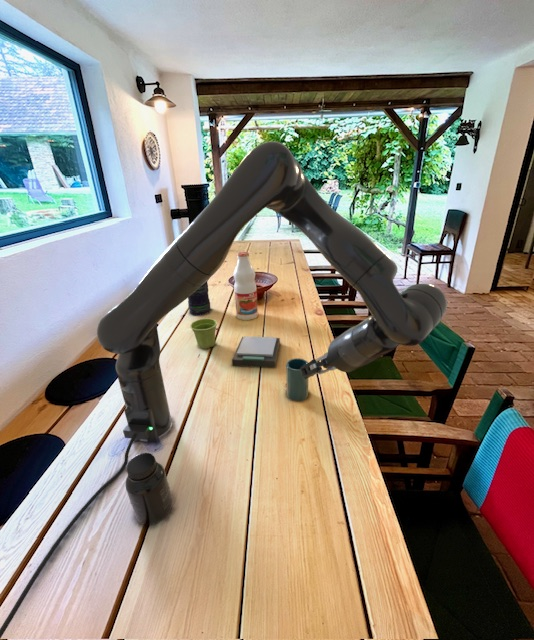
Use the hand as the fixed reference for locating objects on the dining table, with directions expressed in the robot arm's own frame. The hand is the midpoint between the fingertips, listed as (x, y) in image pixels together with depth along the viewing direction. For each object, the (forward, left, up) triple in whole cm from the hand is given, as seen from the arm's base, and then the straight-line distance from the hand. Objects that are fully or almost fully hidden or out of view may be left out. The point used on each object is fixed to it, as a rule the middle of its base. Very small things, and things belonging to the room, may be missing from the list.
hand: (318, 369), depth 77 cm
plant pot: (+34, +41, -14) cm, 54 cm away
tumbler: (+8, +6, -14) cm, 17 cm away
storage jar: (+65, +54, -14) cm, 85 cm away
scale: (+29, +21, -14) cm, 38 cm away
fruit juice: (+61, +31, -14) cm, 69 cm away
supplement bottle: (-29, +31, -14) cm, 44 cm away
